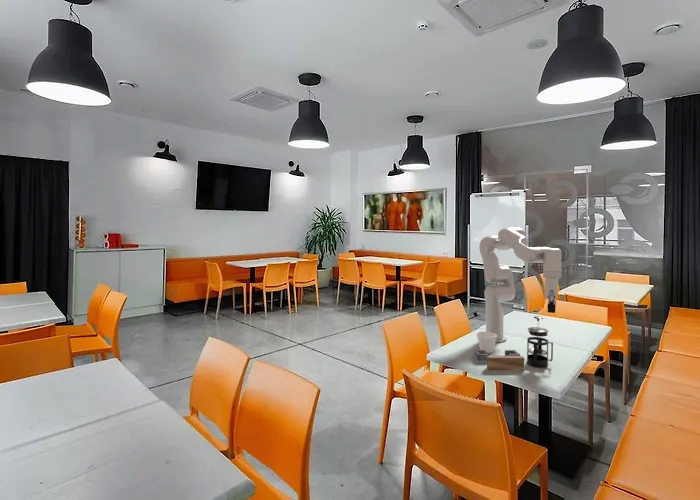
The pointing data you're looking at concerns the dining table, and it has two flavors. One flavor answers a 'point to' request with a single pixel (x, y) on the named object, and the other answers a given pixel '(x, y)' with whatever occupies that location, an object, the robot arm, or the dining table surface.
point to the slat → (505, 362)
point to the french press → (538, 347)
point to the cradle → (482, 357)
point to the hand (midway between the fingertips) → (551, 310)
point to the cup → (486, 341)
